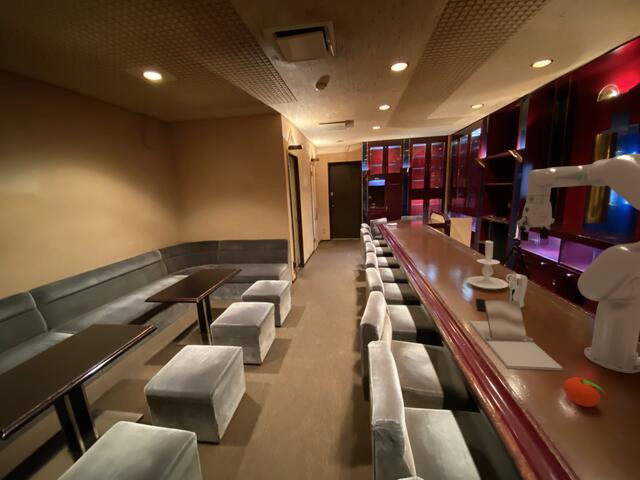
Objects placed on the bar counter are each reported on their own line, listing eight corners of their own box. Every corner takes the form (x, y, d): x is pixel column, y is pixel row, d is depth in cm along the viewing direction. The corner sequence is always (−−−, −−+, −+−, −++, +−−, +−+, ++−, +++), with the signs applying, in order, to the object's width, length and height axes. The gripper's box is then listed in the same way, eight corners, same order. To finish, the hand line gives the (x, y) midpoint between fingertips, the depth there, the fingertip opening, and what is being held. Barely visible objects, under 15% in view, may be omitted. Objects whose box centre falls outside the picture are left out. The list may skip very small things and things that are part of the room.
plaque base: (562, 370, 83) (563, 364, 83) (507, 368, 86) (507, 362, 85) (509, 323, 112) (509, 318, 112) (469, 323, 115) (469, 318, 114)
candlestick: (522, 295, 140) (527, 244, 135) (470, 292, 148) (473, 243, 143) (509, 282, 159) (512, 237, 154) (463, 280, 167) (465, 237, 162)
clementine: (602, 403, 71) (606, 379, 69) (605, 420, 65) (610, 395, 64) (562, 389, 76) (565, 367, 75) (562, 404, 71) (565, 381, 70)
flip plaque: (525, 338, 98) (527, 338, 97) (490, 337, 100) (492, 337, 99) (516, 301, 103) (518, 300, 102) (484, 300, 105) (485, 300, 104)
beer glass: (528, 308, 125) (531, 278, 122) (511, 308, 126) (514, 278, 124) (520, 302, 132) (522, 274, 129) (504, 302, 133) (507, 273, 130)
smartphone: (491, 300, 135) (494, 312, 122) (491, 301, 135) (494, 314, 122) (475, 298, 138) (477, 310, 125) (475, 299, 138) (477, 311, 125)
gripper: (528, 201, 104) (524, 243, 107) (565, 198, 107) (560, 239, 110) (511, 200, 111) (508, 239, 115) (546, 198, 114) (542, 236, 117)
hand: (533, 239), depth 112 cm, fingers open, 9 cm apart
